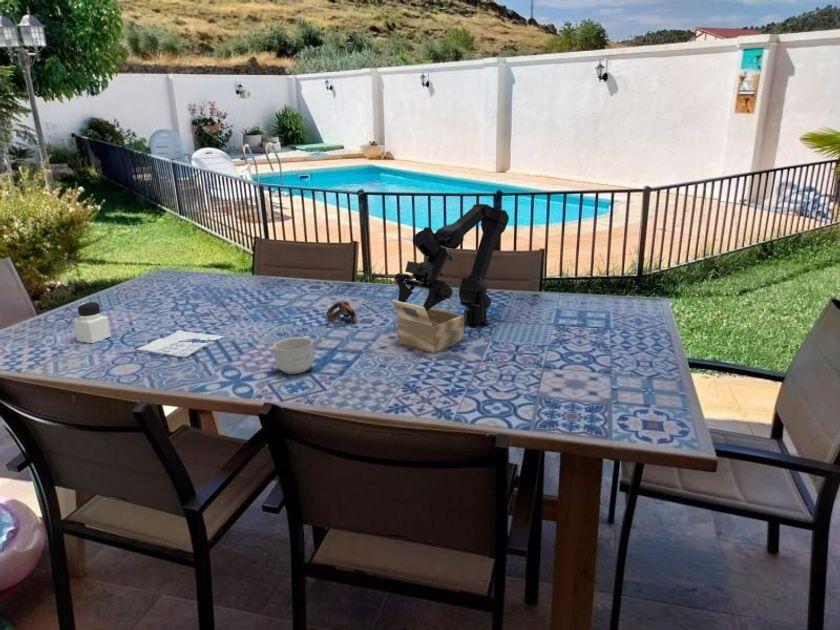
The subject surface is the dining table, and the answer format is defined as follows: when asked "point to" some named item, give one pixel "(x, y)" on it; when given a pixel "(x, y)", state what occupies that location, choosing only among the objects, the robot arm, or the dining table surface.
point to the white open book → (178, 344)
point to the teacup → (294, 354)
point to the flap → (412, 312)
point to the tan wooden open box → (432, 331)
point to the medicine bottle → (91, 323)
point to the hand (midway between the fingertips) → (410, 310)
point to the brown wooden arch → (341, 312)
